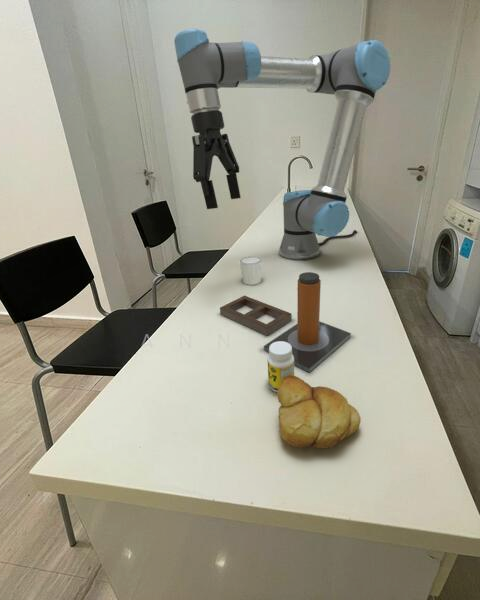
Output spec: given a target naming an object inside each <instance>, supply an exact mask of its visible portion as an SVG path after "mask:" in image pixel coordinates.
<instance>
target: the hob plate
mask: <svg viewBox="0 0 480 600" xmlns="http://www.w3.org/2000/svg"><path fill="white" fill-rule="evenodd" d="M297 330H298V323H296V324H295V325H293V326H291V327H290V328H288V329H287V330H286V331H284V332H283V333H281V334H280V335H278V336H277V337H275V338H274V339H272V340H271V341H269V342H268V343H266V344H264V345H263V351H265V352H267V353H269V347H270V345H271V344H272V343H274V342H278V341H284V342H287V343H289V344H290V345H291V346H292V355H293V356H294V367H297V368H299V369H301V370H303V371H305V372H307V373H310V372H312V371H313V370H314V369H315V368H316V367H318V366H319V365H320V364H321V363H322V362H323V361H324V360H326V359H327V358H328V357H330V355H332V354H333V353H334V352H335V351H336V350H337V349H338V348H340V347H341V346H342V345H343V344H345V342H347V341H348V340H349V339H350V338H351V336H352V333H351V332H349V331H346V330H343V329H341V328H339V327H335V326H333V325H331V324H329V323H326V322H322V321H320V320H319V340H318V342H317V343H316V344H313V345H304V344H301V343H300V342H299V341H298V339H297Z"/></svg>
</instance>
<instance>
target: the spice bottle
mask: <svg viewBox="0 0 480 600" xmlns="http://www.w3.org/2000/svg"><path fill="white" fill-rule="evenodd" d="M321 284H322V282H321V279H320V275H319V273H316V272H314V271H313V272H312V271H307V272H305V271H304V272H302V273H300V274H299V275H298V278H297V324H298V330H297V339H298V341H299V342H300V343H301V344H304V345H313V344H316V343H317V342H318V340H319V321H320V313H321V312H320V311H321V288H322V287H321V286H322V285H321Z"/></svg>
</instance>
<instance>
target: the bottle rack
mask: <svg viewBox="0 0 480 600" xmlns="http://www.w3.org/2000/svg"><path fill="white" fill-rule="evenodd" d="M244 306H246V307H248V308H251V310H249V311H247V312H246V313H242V312H240V311H237V310H239V309H241V308H242V307H244ZM219 313H220V316H223V317H225V318H227V319H230V320H232V321H234V322H236V323H238V324H240V325H243V326H245V327H247V328H249V329H251V330H254V331H255V332H258V333H260V334H262V335H264V336H266V337H268V336H270V335H271V334H273V333H274V332H276V331H277V330H279V329H281V328H282V327H283V326H285V325H287V324H288V323H290V322H291V321H292V320H293V319H292V315H293V314H292V313H291V312H289V311H287V310H284V309H282V308H279V307H275V306H273V305H270V304H268V303H266V302H263V301H260V300H257V299H256V298H253V297H249V296H247V295H243V296H240V297H239V298H237V299H234V300H232V301H230V302H228V303H226V304H224V305H222V306H220V307H219ZM264 315H268V316H270V317H273V318H274V319H272V320H271V321H269V322H268V323H265V322H263V321H262V320H261V321H260V320H258V319H259V318H261V317H262V316H264Z"/></svg>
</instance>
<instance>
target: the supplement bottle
mask: <svg viewBox="0 0 480 600" xmlns="http://www.w3.org/2000/svg"><path fill="white" fill-rule="evenodd" d="M292 375H293V376H295V365H294V356H293V355H292V346H291V345H290V344H289V343H287V342H284V341H278V342H274V343H272V344H271V345H270V347H269V352H268V355H267V378H268V381H267V382H268V387H269V388H270V390H272V391H273V392H275V393H277V391H278V388H279V386H280V384H281V381H282V380H283V379H284V378H285V377H287V376H292Z"/></svg>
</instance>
